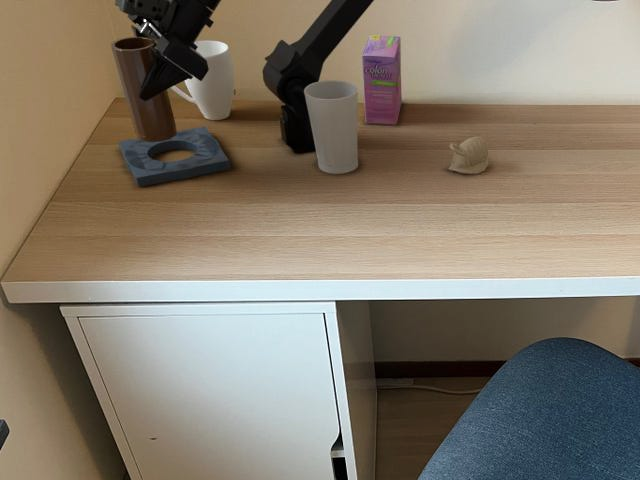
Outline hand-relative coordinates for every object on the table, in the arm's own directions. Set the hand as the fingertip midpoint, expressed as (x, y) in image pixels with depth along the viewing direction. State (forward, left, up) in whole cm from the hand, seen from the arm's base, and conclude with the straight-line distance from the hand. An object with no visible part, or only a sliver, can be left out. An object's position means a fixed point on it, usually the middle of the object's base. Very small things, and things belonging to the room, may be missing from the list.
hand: (135, 91), depth 111 cm
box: (-42, -7, -13) cm, 44 cm away
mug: (-13, -19, -13) cm, 27 cm away
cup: (-26, +9, -13) cm, 31 cm away
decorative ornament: (-45, +19, -13) cm, 50 cm away
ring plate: (-4, -4, -13) cm, 14 cm away
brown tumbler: (-1, 0, -7) cm, 7 cm away
